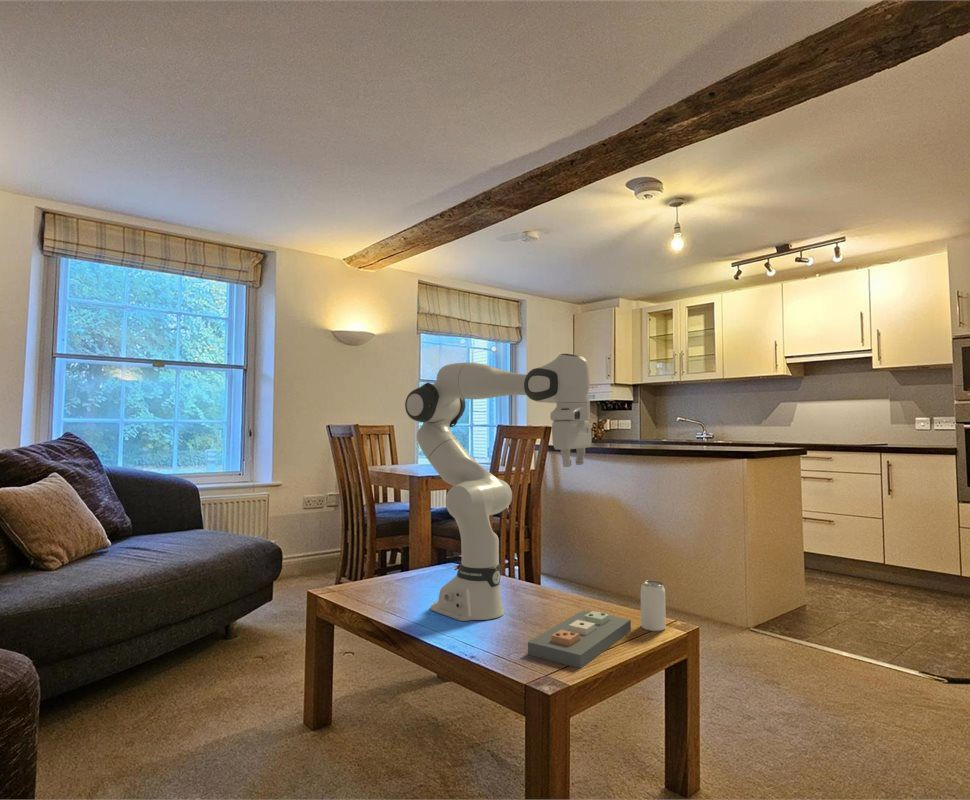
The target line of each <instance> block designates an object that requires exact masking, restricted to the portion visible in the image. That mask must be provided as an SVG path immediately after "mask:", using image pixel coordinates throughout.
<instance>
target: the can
mask: <svg viewBox="0 0 970 800" xmlns="http://www.w3.org/2000/svg"><path fill="white" fill-rule="evenodd" d="M666 623H667V621H666V589H665V587H664V583H663V582H660V581H657V580H644V581H642V582H641V587H640V626H641V628H642V629H644V630H645V631H648V630H649V632H662V631H665V629H666Z"/></svg>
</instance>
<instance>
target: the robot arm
mask: <svg viewBox="0 0 970 800" xmlns="http://www.w3.org/2000/svg"><path fill="white" fill-rule="evenodd" d="M590 384H591V383H590V370H589V363H588V360H587V359H586V358H585V357H584V356H582V355H578V354H572V353H561V354H559V355H558V356H557V357H556V358H555V359H554V360H552V361H550V362H549V363H547V364H544V365H542V366H540V367H539V366H538V367H535V368H532V369H531V370H529V372H527V373H526V374H525V373H524V374H523V373H515V372H511V371H508V370H504V369H501V368H498V367H495V366H490V365H488V364H484V363H478V362H456V363H450V364H446V365H443V366H442V367H441V368H440V369H439V370H438V372H437V374H436V380H435V382H433V383H430V382H426V383H424V384H422V385H421V386H420V387H417V388H415V389H413V390H412V391H410V392H409V393H408V395H407V397H406V398H405V402H404V408H405V412H406V415H407V416H408V417H409V418H410V419H411V420H413V421H415V422H419V423H422V425H421V426H420V427H419V428H418V430H417V433H416V440H417V443H418V445H419V447H420V449H421V451H422V453H423V455H424V456H425V458H426V459H427V460H428V462H429V463H430V465H431V466H432V467H433V468H434V470H435V471H436V472H437V474H438V475H439V477H440V478H441V479H442V481H444V482H445V483H446V484H449V485H451V488H450V489H449V490H448V491H447V493H446V496H445V507H446V510H447V512H448V514H449V515H450V516H452V518H453V519H454V520H455V522H456V524H457V527H458V530H459V531H458V532H459V534H460V541H461V544H460V546H461V549H460V550H461V562H460V563H458V565H455V566H453V567H454V569H453V570H454V571H456V570H457V572H456V575H455V576H454V577H453V578H452V579H450V580H449V581H448V582H446V583H445V584H444V585H442V587H441V588H440V591H439V594H438V600H437V601H434V603H432V604H431V605H430V610H431V611H433V612H435V613H438V614H441V615H443V616H446V617H449V618H452V619H454V620H456V621H457V620H458V621H459V622H467V621H482V620H483V621H484V620H485V621H486V620H492V619H497V618H500V617H502V616H503V615H504V614H505V609H504V605H503V601H502V600H503V599H502V594H501V587H500V586H501V584H500V583H501V564H500V552H499V551H500V547H499V546H500V538H499V537H498V535H497V534H496V533H495V532H494V531H493V528H492V526H491V521H490V516H493V515H497V514H500V513H501V512H503V511H504V510H506V509H507V508H508V507H509V506H510V505H511V503H512V501H513V491H512V488H511V487H510V485H509V483H507V482H506V481H505V480H502V479H501V478H498V477H496V476H495V475H494V474H493V473H491V472H490V471H489V470H487V469H486V468H485V467H484V466H482V465H481V464H479V462H477V461H476V460H475V459H474V458H473V457H472V456H471V455H470V454H469V452H468V451H467V450H466V449H465V447H464V446H463V445H462V443H460V441H459V440H458V439H457V438H456V436H455V435H454V434H453V433H452V431H451V428H453V427H455V426H456V425H457V423H458V421H459V420H460V418H461V417H463V414H464V413H465V410H466V400H483V399H490V398H491V399H492V398H498V397H505V396H506V397H507V396H516V395H517V396H527V398H528V399H530V400H532V401H535V402H536V403H537V402H538V403H546V404H549V403H550V404H556V407H555V408H554V409H553V410H552V411H551V412H550V421H552V424H551V434H552V436H551V437H552V439H551V440H552V445H553V448H554V450H560V456H561V459H562V466H563V467H564V468H570V467H572V459H571V457H570V455H571V450H575V449H576V451H575V452H576V458H575V464H576V465H577V466H582V465H584V462H585V461H584V458H585V455H586V448H591V447H592V443H593V442H592V441H593V440H592V429H591V428H592V427H591V422H590V420H591V404H590V403H591V402H590V401H591V400H590V396H589V390H590Z"/></svg>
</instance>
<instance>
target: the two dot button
mask: <svg viewBox="0 0 970 800" xmlns="http://www.w3.org/2000/svg"><path fill="white" fill-rule="evenodd" d="M610 616H611V614H608V613H604V612H601V611H596V610H592V611H590V613H588V614H586V615H585V616H584V621H586V622H591V623H595V624H597V625H602V626H603V625H604V624H606V623H607V622H609V621H610Z"/></svg>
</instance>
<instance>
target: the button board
mask: <svg viewBox="0 0 970 800" xmlns="http://www.w3.org/2000/svg"><path fill="white" fill-rule="evenodd" d="M590 612H591V611H588V610H586V609H585V610H581V611H580V612H578V613H576V614H574V615H573V616H571V617H569V618H567V619H566V620H564V621H562V622H560V623H559V624H557V625H555V626H553V627H551V628H549V629H548V630H546V631H545V632H543V633H541V634H539V635H537V636H536V637H534V638H533V639H531V640H529V641H527V655H528V656H532V657H535V658H539V659H544V660H547V661H550V662H554V663H559V664H562V665H565V666H570V667H573V668H577V669H582V668H583V667H585V666H586V665H587V664H589V663H590V662H591V661H593V660H595V658H597V657H598V656H599V655H601V654H602V653H603V652H605V651H606V650H607V649H608V648H611V647H612V646H613V645H614V644H616V643H617V642H619V639H620V640H621V639H622V638H624V637H625V636H627V633H628V632H629V633H630V632H631V631H632V625H631V624H632V621H631V619H629V618H626V617H625V618H624V617H619V616H615V615H610V621H609V622H607V623H606V624H604V625H603V626H602V625H597V624H595V631H594V632H592V633H591V634H589V635H588V636H586V635H582V634H579V641H578V642H577V643H575V644H574V645H572V646H571V647H569V646H565V645H561V644H557V643H553V642H551V635H553V634H554V633H556V632H558V631H559V630H566V631H569V625H570V624H571V623H573V622H575V621H576V620H581V621H584V616H585V615H586V614H588V613H590ZM629 633H628V634H629ZM624 635H625V636H624ZM623 636H624V637H623ZM615 642H616V643H615Z"/></svg>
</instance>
